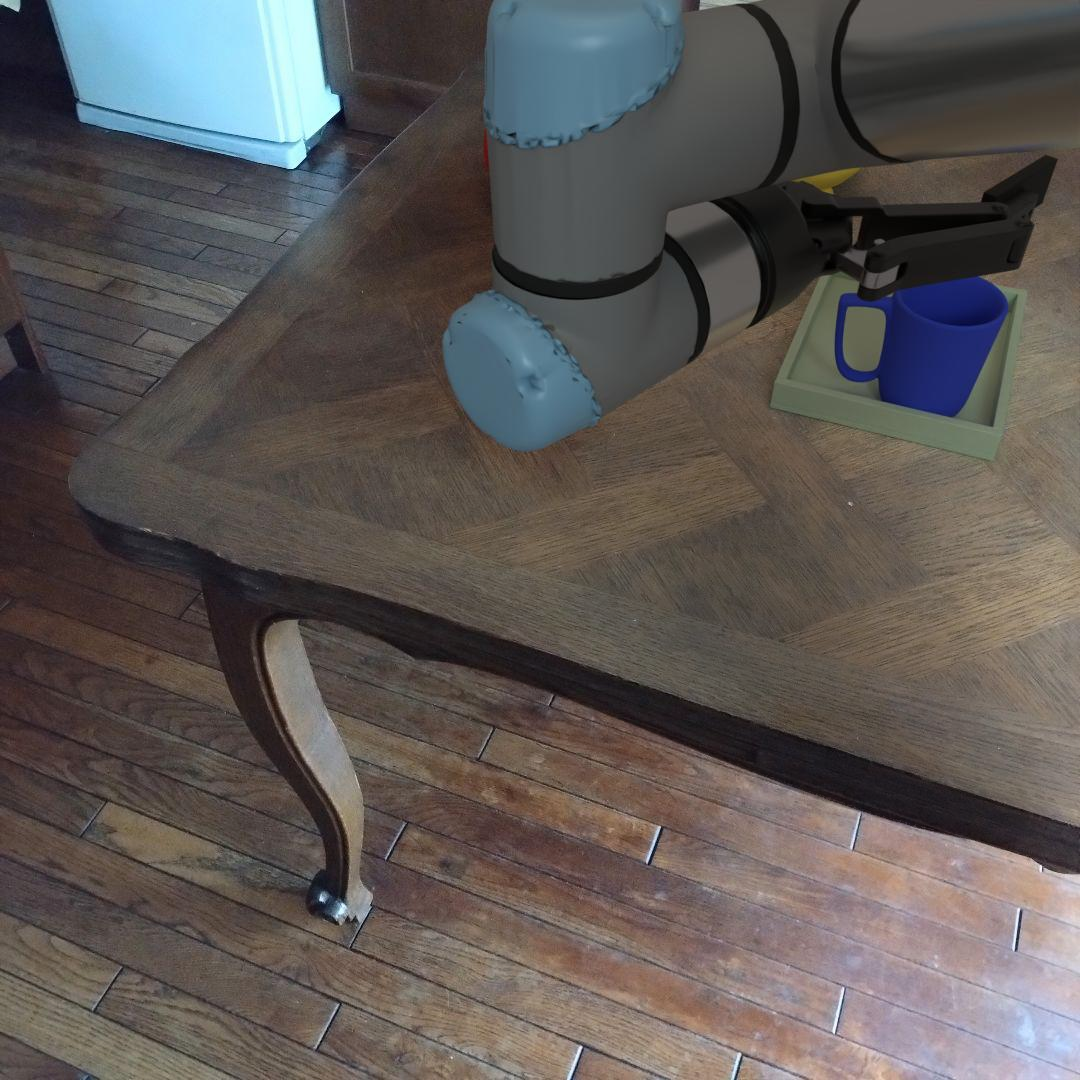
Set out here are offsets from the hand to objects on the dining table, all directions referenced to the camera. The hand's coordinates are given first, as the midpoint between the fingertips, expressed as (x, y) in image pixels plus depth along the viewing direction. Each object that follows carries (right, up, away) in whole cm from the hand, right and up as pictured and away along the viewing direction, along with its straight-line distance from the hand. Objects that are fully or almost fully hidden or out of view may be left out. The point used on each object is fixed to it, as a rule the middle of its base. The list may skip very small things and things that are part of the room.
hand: (941, 141), depth 65 cm
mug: (+4, -13, +22) cm, 26 cm away
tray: (+7, -9, +27) cm, 29 cm away
